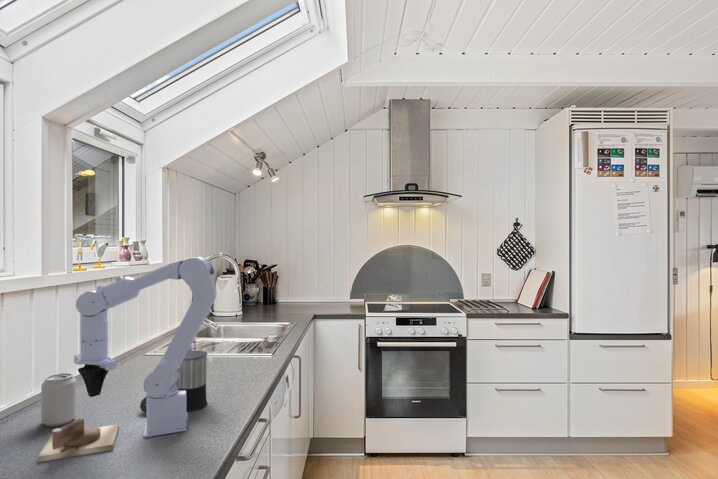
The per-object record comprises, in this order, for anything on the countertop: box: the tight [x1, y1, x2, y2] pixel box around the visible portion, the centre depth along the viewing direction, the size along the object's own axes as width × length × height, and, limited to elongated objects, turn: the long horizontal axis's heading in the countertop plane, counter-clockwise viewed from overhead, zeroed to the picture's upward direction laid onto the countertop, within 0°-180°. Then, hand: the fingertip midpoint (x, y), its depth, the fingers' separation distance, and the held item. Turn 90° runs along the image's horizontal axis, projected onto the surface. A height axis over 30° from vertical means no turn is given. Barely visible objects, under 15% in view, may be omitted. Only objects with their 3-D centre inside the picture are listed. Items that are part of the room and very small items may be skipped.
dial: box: [51, 418, 101, 448], centre depth 99 cm, size 11×8×5 cm
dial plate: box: [37, 423, 120, 463], centre depth 101 cm, size 14×12×1 cm
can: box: [40, 372, 77, 427], centre depth 114 cm, size 8×8×12 cm
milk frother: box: [139, 350, 208, 414], centre depth 123 cm, size 14×16×15 cm
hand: (94, 395), depth 106 cm, fingers closed
